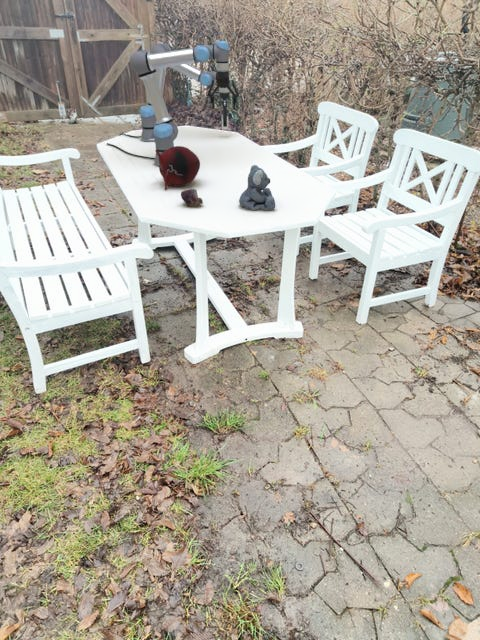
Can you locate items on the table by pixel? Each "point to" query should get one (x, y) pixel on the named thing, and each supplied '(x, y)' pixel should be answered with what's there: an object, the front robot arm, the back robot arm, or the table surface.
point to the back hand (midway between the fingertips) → (225, 125)
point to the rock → (191, 197)
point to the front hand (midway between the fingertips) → (223, 108)
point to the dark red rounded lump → (178, 166)
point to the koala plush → (257, 191)
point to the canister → (227, 124)
